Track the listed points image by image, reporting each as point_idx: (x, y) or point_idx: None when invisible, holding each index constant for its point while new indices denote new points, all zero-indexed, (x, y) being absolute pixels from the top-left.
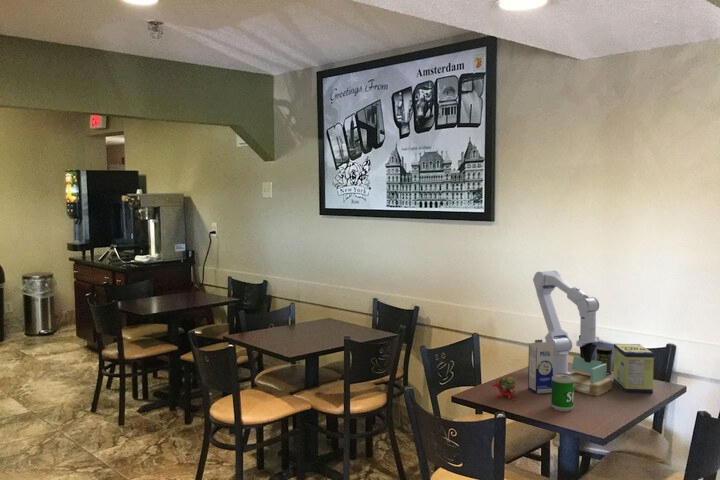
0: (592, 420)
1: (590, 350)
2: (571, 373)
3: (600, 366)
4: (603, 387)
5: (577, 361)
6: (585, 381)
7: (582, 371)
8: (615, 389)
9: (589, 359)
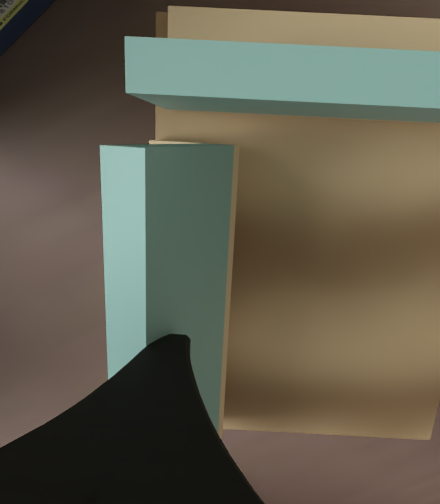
0: None
1: (253, 490)
2: None
3: (399, 51)
4: None
5: None
6: (392, 219)
7: (221, 343)
8: (148, 7)
9: (190, 361)
